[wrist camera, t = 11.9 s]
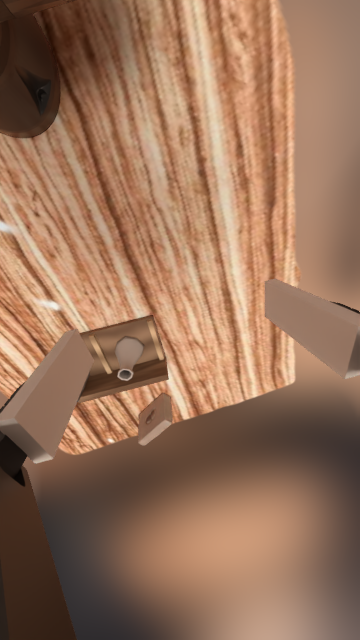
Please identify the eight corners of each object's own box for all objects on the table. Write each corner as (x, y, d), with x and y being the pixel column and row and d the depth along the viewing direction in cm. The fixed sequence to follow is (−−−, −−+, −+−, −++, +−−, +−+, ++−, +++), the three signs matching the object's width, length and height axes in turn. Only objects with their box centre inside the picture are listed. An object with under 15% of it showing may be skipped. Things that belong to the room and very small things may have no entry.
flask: (134, 363, 51) (131, 392, 43) (109, 352, 49) (101, 380, 40) (149, 344, 49) (149, 369, 41) (124, 331, 47) (117, 355, 38)
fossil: (162, 391, 59) (164, 419, 51) (170, 396, 61) (174, 424, 52) (138, 414, 62) (136, 443, 54) (146, 418, 63) (146, 447, 55)
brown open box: (64, 337, 47) (44, 363, 38) (152, 314, 47) (153, 336, 38) (89, 378, 53) (76, 410, 44) (166, 358, 54) (169, 385, 45)
